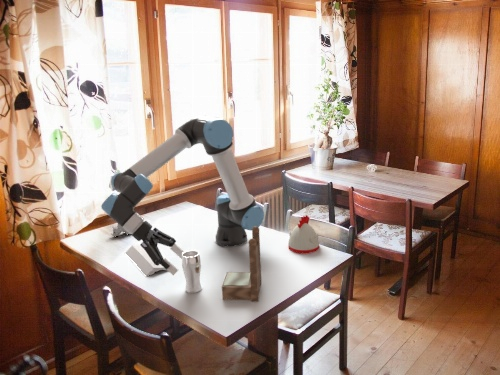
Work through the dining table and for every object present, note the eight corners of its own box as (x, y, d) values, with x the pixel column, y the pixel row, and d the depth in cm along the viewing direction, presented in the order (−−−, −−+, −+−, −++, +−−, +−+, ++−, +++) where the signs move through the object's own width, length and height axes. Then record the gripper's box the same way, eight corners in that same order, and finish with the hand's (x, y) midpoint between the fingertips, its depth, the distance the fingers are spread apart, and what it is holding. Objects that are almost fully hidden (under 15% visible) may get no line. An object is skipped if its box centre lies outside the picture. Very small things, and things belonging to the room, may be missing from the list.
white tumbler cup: (180, 289, 182) (177, 254, 178) (195, 283, 186) (192, 248, 182) (192, 295, 177) (188, 259, 173) (206, 289, 182) (203, 253, 177)
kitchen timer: (324, 246, 216) (324, 215, 212) (307, 256, 206) (307, 224, 202) (300, 239, 225) (299, 209, 221) (282, 248, 215) (281, 217, 211)
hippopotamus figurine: (113, 240, 242) (104, 227, 238) (132, 226, 246) (125, 213, 243) (118, 243, 236) (109, 230, 232) (138, 230, 241) (130, 216, 237)
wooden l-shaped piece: (222, 301, 172) (218, 240, 165) (228, 282, 186) (224, 225, 180) (258, 301, 171) (255, 240, 164) (261, 282, 185) (259, 225, 178)
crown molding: (172, 270, 200) (172, 262, 199) (145, 278, 194) (144, 270, 193) (149, 248, 224) (148, 241, 223) (124, 254, 218) (123, 247, 217)
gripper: (142, 222, 189) (182, 257, 191) (119, 247, 165) (165, 286, 168) (154, 209, 187) (194, 245, 189) (132, 233, 163) (178, 273, 165)
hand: (180, 264), depth 178 cm, fingers open, 13 cm apart
